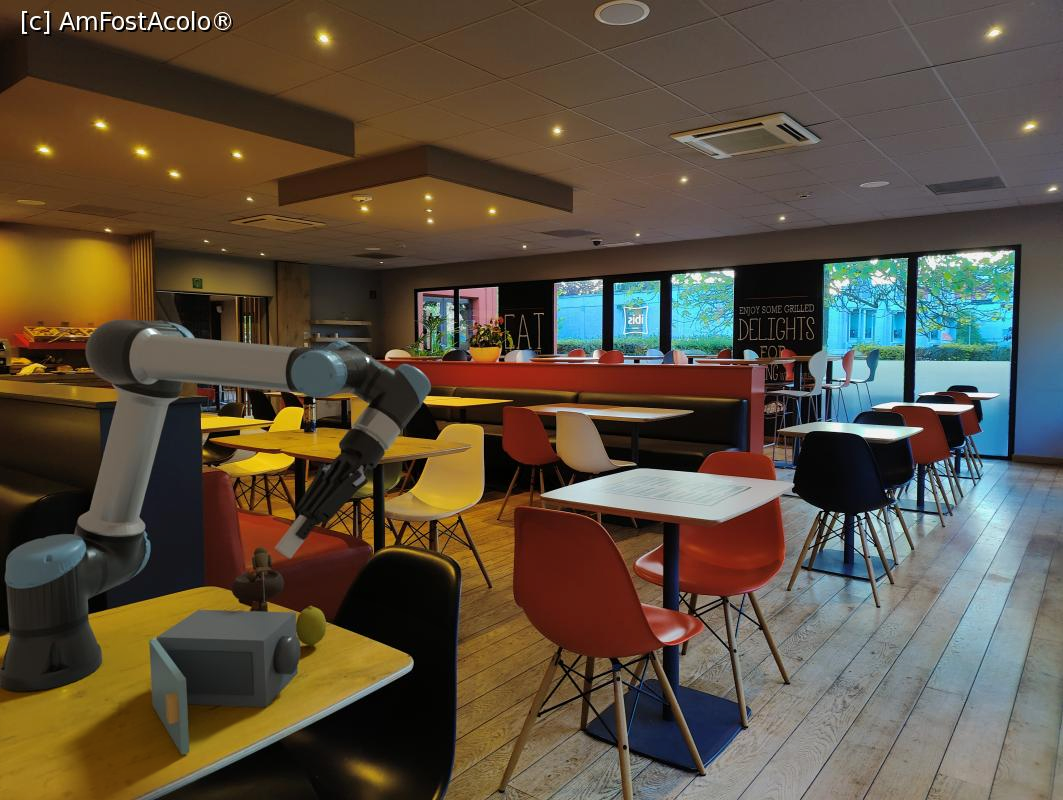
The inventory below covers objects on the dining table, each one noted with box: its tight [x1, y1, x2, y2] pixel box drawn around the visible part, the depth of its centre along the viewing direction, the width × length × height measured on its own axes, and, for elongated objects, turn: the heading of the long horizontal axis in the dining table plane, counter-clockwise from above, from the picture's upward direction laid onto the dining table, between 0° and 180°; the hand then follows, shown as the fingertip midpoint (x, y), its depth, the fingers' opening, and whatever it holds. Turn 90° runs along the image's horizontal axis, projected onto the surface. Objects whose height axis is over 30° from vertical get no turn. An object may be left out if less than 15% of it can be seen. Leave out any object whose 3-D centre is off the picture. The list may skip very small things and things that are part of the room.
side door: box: [148, 637, 190, 755], centre depth 106 cm, size 19×2×11 cm, turn 40°
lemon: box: [296, 605, 327, 648], centre depth 136 cm, size 6×6×8 cm
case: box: [156, 609, 301, 708], centre depth 119 cm, size 20×12×11 cm, turn 85°
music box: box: [231, 546, 285, 612], centre depth 135 cm, size 15×11×20 cm
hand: (282, 553), depth 114 cm, fingers closed
